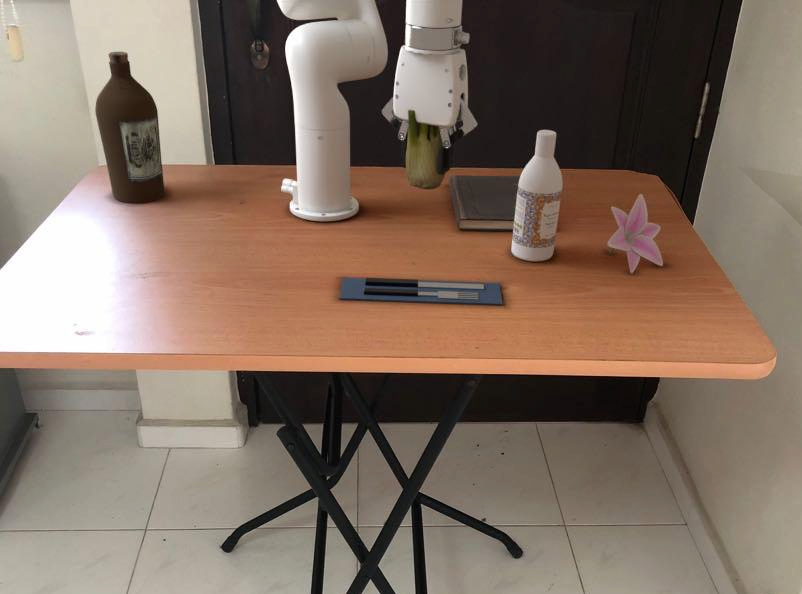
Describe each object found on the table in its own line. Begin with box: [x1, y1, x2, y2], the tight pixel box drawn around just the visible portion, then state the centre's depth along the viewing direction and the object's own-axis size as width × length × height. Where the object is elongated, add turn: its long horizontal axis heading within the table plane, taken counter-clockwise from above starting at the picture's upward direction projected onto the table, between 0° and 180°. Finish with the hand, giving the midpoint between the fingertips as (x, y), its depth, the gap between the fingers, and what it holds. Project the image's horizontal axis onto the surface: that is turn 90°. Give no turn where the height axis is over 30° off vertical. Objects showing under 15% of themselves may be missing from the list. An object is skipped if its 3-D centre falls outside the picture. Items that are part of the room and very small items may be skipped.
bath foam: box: [510, 129, 564, 262], centre depth 132 cm, size 7×7×20 cm
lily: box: [607, 193, 664, 274], centre depth 135 cm, size 12×12×10 cm
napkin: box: [339, 277, 503, 306], centre depth 125 cm, size 24×7×1 cm, turn 88°
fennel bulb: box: [405, 109, 446, 190], centre depth 122 cm, size 6×5×12 cm
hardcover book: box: [448, 174, 521, 233], centre depth 155 cm, size 16×23×2 cm
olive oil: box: [94, 51, 165, 204], centre depth 149 cm, size 11×11×25 cm
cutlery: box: [364, 277, 484, 300], centre depth 125 cm, size 18×5×1 cm, turn 88°
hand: (426, 167), depth 124 cm, fingers closed on fennel bulb, 5 cm apart
